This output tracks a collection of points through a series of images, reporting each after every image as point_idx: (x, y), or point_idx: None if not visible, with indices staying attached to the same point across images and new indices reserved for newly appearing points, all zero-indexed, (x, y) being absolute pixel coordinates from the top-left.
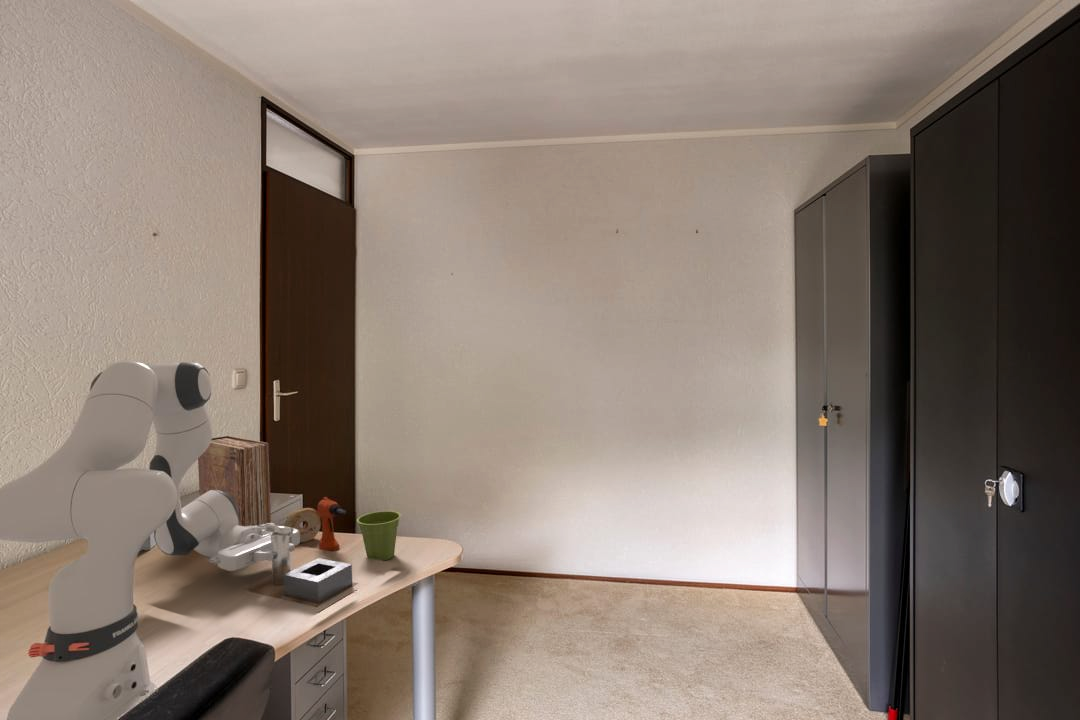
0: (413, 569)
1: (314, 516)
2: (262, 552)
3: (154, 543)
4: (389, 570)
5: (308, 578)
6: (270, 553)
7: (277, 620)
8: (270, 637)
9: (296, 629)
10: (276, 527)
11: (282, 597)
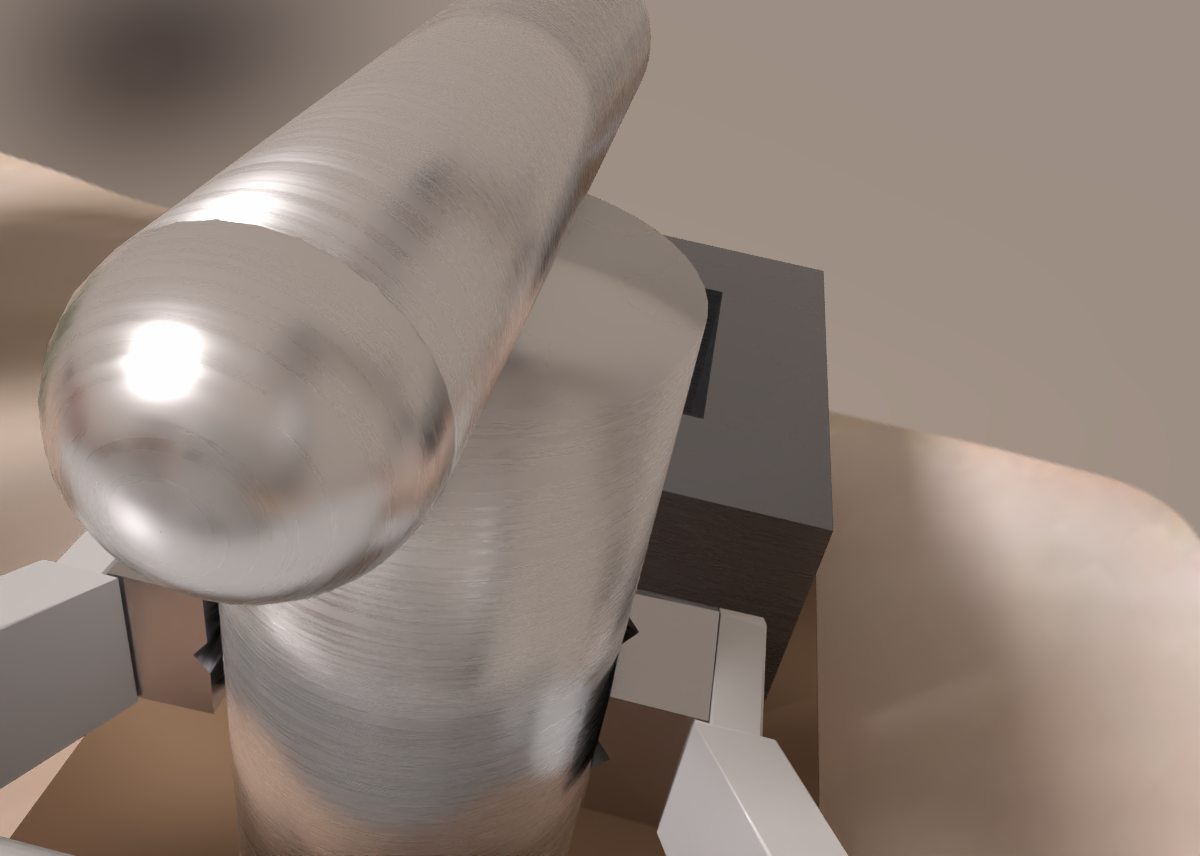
0: (39, 199)
1: None
2: (794, 819)
3: None
4: (14, 284)
5: (797, 329)
6: (762, 623)
7: (1011, 647)
8: (1180, 579)
9: (1014, 492)
10: (537, 81)
11: (794, 712)
